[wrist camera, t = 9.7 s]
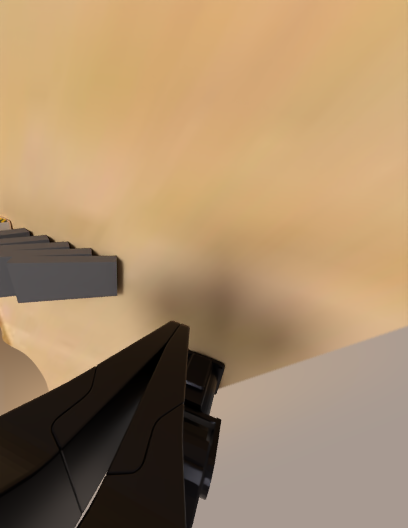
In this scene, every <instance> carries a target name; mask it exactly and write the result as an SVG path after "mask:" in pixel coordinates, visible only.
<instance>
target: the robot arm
mask: <svg viewBox="0 0 408 528" xmlns="http://www.w3.org/2000/svg"><path fill="white" fill-rule="evenodd" d="M189 329H190V327H189V326H187V325H184V324H180V323H178V322H175V321H170V322H168V323H167V324H165V325H163V326H162V327H160V328H158V329H157V330H155V331H153V332H152V333H150V334H148V335H147V336H145V337H143V338H142V339H140V340H138V341H137V342H135V343H133V344H132V345H130V346H128V347H127V348H125V349H123V350H122V351H120V352H118V353H117V354H115V355H113V356H111V357H110V358H108V359H106V360H105V361H103V362H101V363H100V364H98V365H97V367H96V366H95V367H93V368H91V369H90V370H88V371H86V372H85V373H83V374H81V375H79V376H78V377H76V378H74V379H72V380H71V381H69V382H67V383H65V384H63V385H61V386H59V387H57V388H55V389H53V390H51V391H50V392H48V393H46V394H44V395H42V396H40V397H38V398H36V399H33V400H32V401H30V402H28V403H25V404H23V405H21V406H19V407H18V408H15V409H13V410H11V411H9V412H7V413H5V414H3V415H1V416H0V528H74V527H75V526H76V524H77V523H78V521H79V519H80V517H81V516H82V513H83V512H84V510H85V509H86V507H87V505H88V503H89V501H90V500H91V498H92V496H93V495H94V493H95V491H96V490H97V487H98V486H99V484H100V483H101V481H102V479H103V477H104V476H105V474H106V472H107V474H106V476H105V478H104V480H103V482H102V484H101V486H100V488H99V490H98V492H97V494H96V496H95V498H94V500H93V501H92V503H91V505H90V507H89V509H88V510H87V512H86V513H85V515H84V517H83V518H82V520H81V521H80V523H79V525H78V526H77V528H192V524H193V521H194V517H195V512H196V508H197V504H198V500H199V497H200V498H202V499H204V500H205V499H206V497H207V494H208V491H209V487H210V483H211V479H212V474H213V469H214V464H215V458H216V452H217V445H218V439H219V432H220V425H221V419H219V418H217V419H216V418H214V417H212V416H209V414H210V409H211V406H212V401H213V397H214V394H216V393H217V390H218V387H219V384H220V381H221V378H222V375H223V372H224V369H225V365H224V364H223V363H221V362H218V361H216V360H213V359H210V358H208V357H205V356H202V355H200V354H197V353H194V352H192V351H189V350H188V344H189Z"/></svg>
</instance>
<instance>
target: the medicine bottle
mask: <svg viewBox="0 0 408 528" xmlns="http://www.w3.org/2000/svg"><path fill="white" fill-rule="evenodd" d="M3 230H12V228H11V223H10V221H9V220H7V219H5V218H2V217H0V231H3Z"/></svg>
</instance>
